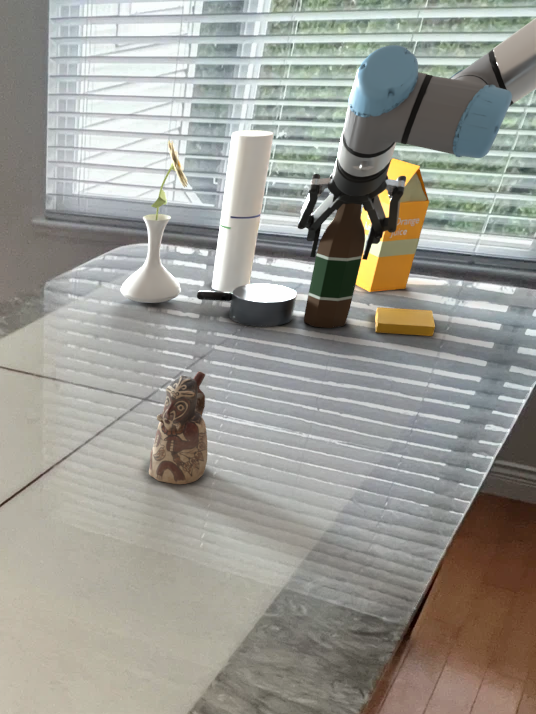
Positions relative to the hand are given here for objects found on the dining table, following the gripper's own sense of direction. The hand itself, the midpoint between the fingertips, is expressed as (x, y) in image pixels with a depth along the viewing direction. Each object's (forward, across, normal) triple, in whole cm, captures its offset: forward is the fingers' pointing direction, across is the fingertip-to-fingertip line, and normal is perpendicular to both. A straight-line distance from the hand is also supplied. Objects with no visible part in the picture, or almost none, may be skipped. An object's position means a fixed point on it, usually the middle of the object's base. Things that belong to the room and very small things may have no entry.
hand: (339, 250), depth 143 cm
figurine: (-40, -16, -55) cm, 70 cm away
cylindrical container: (+18, -18, +3) cm, 26 cm away
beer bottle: (+5, 0, -10) cm, 11 cm away
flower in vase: (+10, -32, -5) cm, 34 cm away
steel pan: (+5, -14, -10) cm, 18 cm away
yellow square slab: (+5, +13, -10) cm, 17 cm away
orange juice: (+23, +9, +8) cm, 26 cm away
